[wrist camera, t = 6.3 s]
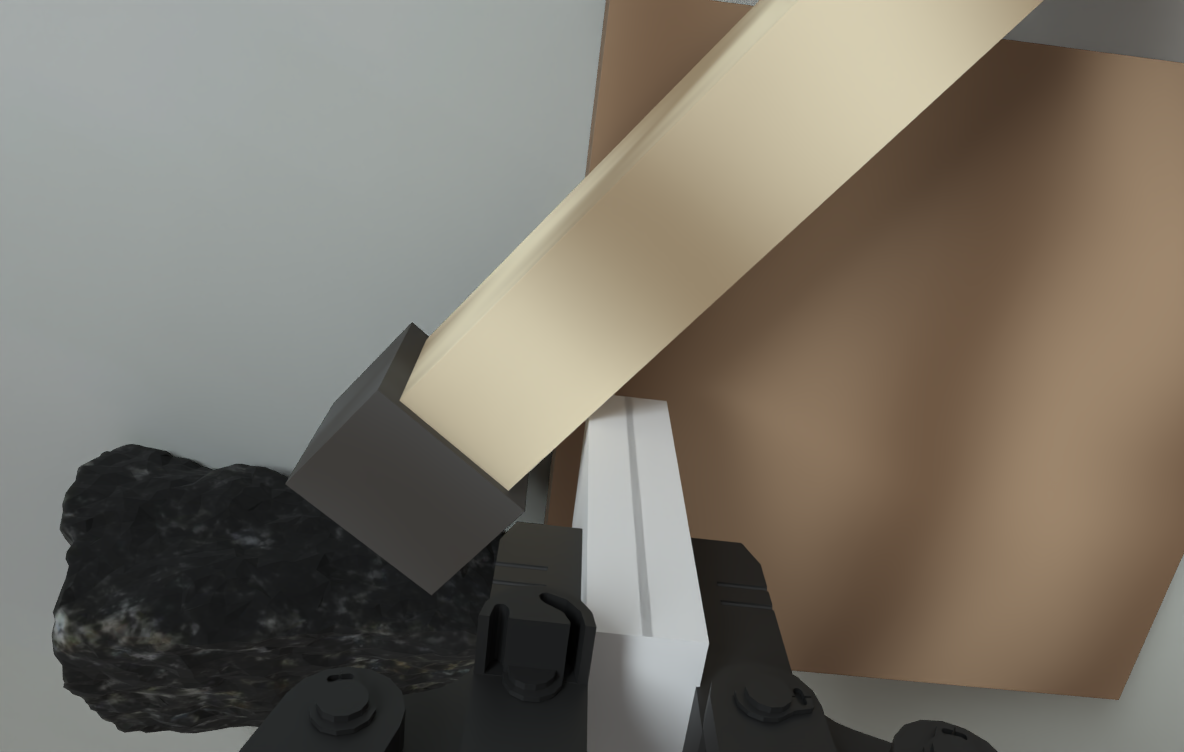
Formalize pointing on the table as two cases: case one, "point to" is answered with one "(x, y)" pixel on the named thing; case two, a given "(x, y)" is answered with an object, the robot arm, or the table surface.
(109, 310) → the table surface
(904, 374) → the seat
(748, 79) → the leg
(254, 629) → the rock
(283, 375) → the table surface
